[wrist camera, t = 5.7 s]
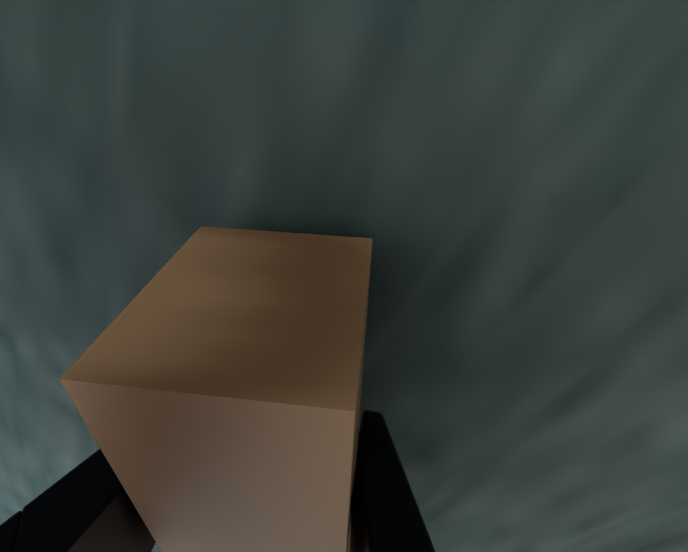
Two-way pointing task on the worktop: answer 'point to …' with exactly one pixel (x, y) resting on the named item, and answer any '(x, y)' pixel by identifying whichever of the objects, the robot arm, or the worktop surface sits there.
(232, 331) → the walnut bar
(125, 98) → the worktop surface
